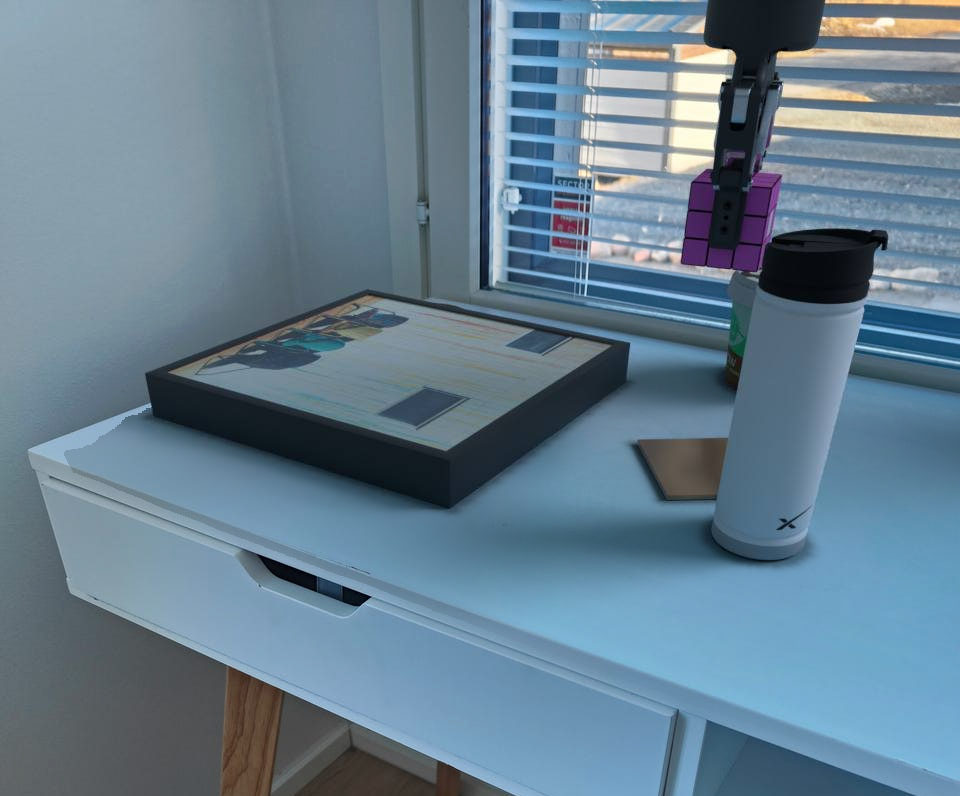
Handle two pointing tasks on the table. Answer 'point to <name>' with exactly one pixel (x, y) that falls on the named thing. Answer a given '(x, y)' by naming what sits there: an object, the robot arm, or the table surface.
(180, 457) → the table surface
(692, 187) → the puzzle toy
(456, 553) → the table surface
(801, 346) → the travel mug
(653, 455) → the cork coaster
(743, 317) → the food container
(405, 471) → the framed picture
